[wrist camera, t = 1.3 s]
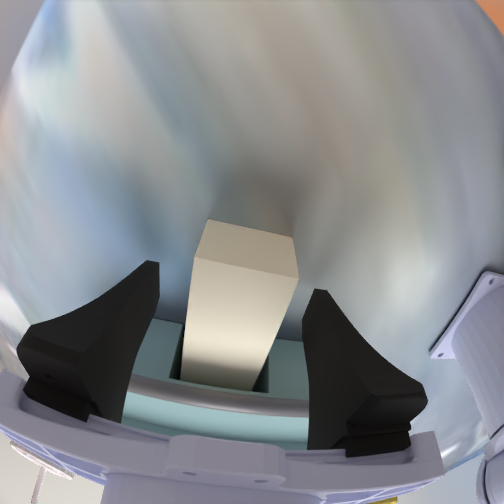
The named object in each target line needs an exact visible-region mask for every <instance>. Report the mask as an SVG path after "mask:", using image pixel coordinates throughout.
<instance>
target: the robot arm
mask: <svg viewBox="0 0 504 504" xmlns="http://www.w3.org/2000/svg"><path fill="white" fill-rule="evenodd" d="M159 297H160V291H159V262H154V261H148V260H147V261H145V262H144V263H143V264H141V265H140V266H139V267H138V268H137V269H135V270H134V271H133V272H132V273H131V274H129V275H128V276H127V277H126V278H124V279H123V280H122V281H121V282H119V283H118V284H117V285H115V286H114V287H113V288H111V289H110V290H109V291H107V292H106V293H104V294H103V295H101V296H100V297H98V298H97V299H95V300H93V301H91V302H90V303H88V304H86V305H84V306H82V307H80V308H78V309H76V310H74V311H72V312H70V313H67V314H65V315H62V316H60V317H57V318H54V319H51V320H48V321H44V322H41V323H37V324H34V325H31V326H30V327H29V329H28V330H27V332H26V333H25V335H24V336H23V338H22V340H21V341H20V343H19V344H18V346H17V348H16V350H17V355H18V357H19V360H20V361H21V363H22V365H23V366H24V368H25V370H26V371H27V373H28V375H29V376H30V377H29V379H28V381H27V382H26V381H25V380H24V379H23V378H21V377H19V376H17V375H16V374H14V373H12V372H10V371H8V370H6V369H3V370H2V371H1V373H0V431H1V432H2V433H3V434H4V435H5V436H6V437H8V438H9V439H11V440H13V441H14V442H16V443H18V444H19V445H21V446H23V447H25V448H26V449H28V450H30V451H32V452H33V453H35V454H37V455H39V456H41V457H43V458H45V459H46V460H48V461H50V462H52V463H54V464H56V465H58V466H60V467H62V468H64V469H66V470H68V471H71V472H73V473H75V474H77V475H79V476H82V477H84V478H86V479H89V480H91V481H94V482H96V483H99V484H101V485H104V486H105V487H104V491H103V495H102V500H101V504H366V503H371V502H375V501H380V500H384V499H388V498H392V497H396V496H400V495H404V494H407V493H411V492H414V491H416V490H418V489H420V488H422V487H424V486H426V485H428V484H430V483H432V482H434V481H436V480H437V479H439V478H441V477H443V476H444V475H445V470H444V466H443V462H442V458H441V455H440V451H439V447H438V444H437V440H436V437H435V433H434V431H429V432H423V433H418V434H414V435H412V436H410V437H409V433H408V431H409V430H411V424H410V421H412V420H413V419H414V418H415V417H416V416H417V415H418V414H420V413H421V412H422V411H423V409H424V408H425V407H426V405H427V403H428V399H427V396H426V393H425V390H424V388H423V385H422V384H421V383H420V382H418V381H416V380H415V379H413V378H411V377H409V376H408V375H406V374H405V373H403V372H402V371H400V370H399V369H398V368H396V367H395V366H393V365H392V364H391V363H390V362H388V361H387V360H386V359H385V358H384V357H382V356H381V355H380V354H379V353H378V352H377V351H376V350H375V349H374V348H373V347H372V346H371V345H370V344H369V343H368V342H367V341H366V340H365V339H364V338H363V337H362V336H361V335H360V334H359V332H358V331H357V330H356V329H355V328H354V326H353V325H352V324H351V323H350V321H349V320H348V319H347V317H346V316H345V315H344V313H343V312H342V311H341V309H340V308H339V306H338V305H337V304H336V302H335V301H334V299H333V298H332V297H331V295H330V294H329V293H328V291H327V290H321V289H314V291H313V294H312V296H311V299H310V301H309V304H308V306H307V309H306V311H305V314H304V316H303V319H302V339H303V346H304V353H305V359H306V366H307V373H308V381H309V426H308V441H307V450H284V449H282V448H280V447H278V446H276V445H271V444H265V443H253V442H242V441H232V440H224V439H217V438H209V437H203V436H196V435H178V436H174V437H172V436H167V435H162V434H158V433H154V432H150V431H145V430H142V429H138V428H134V427H130V426H127V425H123V424H121V421H122V415H123V409H124V404H125V399H126V394H127V390H128V386H129V382H130V378H131V374H132V370H133V366H134V363H135V359H136V356H137V354H138V351H139V349H140V346H141V344H142V342H143V339H144V337H145V335H146V332H147V330H148V328H149V325H150V323H151V321H152V319H153V316H154V314H155V310H156V307H157V304H158V300H159ZM429 356H430V358H431V359H451V358H457V361H458V363H459V365H460V367H461V369H462V371H463V373H464V376H465V378H466V380H467V382H468V385H469V387H470V389H471V392H472V394H473V396H474V399H475V401H476V404H477V406H478V409H479V411H480V414H481V416H482V419H483V422H484V424H485V427H486V430H487V433H488V436H489V439H490V441H489V442H488V443H487V444H485V445H484V446H483V447H482V448H483V451H484V454H485V456H484V458H483V459H482V461H481V463H480V466H479V469H478V473H477V481H476V495H477V500H478V503H479V504H504V275H502V274H498V273H494V272H490V271H486V272H484V273H483V274H482V275H481V277H480V278H479V280H478V282H477V284H476V285H475V287H474V289H473V290H472V292H471V294H470V295H469V297H468V298H467V300H466V302H465V303H464V305H463V306H462V308H461V309H460V311H459V312H458V314H457V315H456V317H455V318H454V320H453V321H452V323H451V324H450V325H449V327H448V328H447V330H446V331H445V332H444V334H443V335H442V337H441V338H440V339H439V341H438V342H437V343H436V345H435V346H434V347H433V348H432V350H431V351H430V353H429Z"/></svg>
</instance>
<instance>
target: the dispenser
mask: <svg viewBox="0 0 504 504" xmlns="http://www.w3.org/2000/svg"><path fill="white" fill-rule="evenodd" d="M182 331H183V324H180V323H175V322H170V321H165V320H160V319H155V318H153V319H152V321H151V323H150V325H149V328H148V330H147V332H146V335H145V337H144V339H143V342H142V344H141V346H140V349H139V351H138V354H137V356H136V359H135V363H134V366H133V370H132V374H131V378H130V382H129V386H128V390H127V394H126V399H125V404H124V409H123V415H122V421H121V424H123V425H127V426H130V427H134V428H138V429H142V430H145V431H150V432H154V433H158V434H162V435H167V436H172V437H174V436H178V435H196V436H203V437H209V438H217V439H224V440H232V441H242V442H253V443H265V444H271V445H276V446H278V447H280V448H282V449H284V450H307V441H308V426H309V381H308V373H307V366H306V359H305V353H304V346H303V342H300V341H291V340H282V339H274V342H273V344H272V346H271V348H270V351H269V353H268V355H267V357H266V360H265V362H264V364H263V366H262V369H261V371H260V373H259V375H258V377H257V380H256V382H255V384H254V386H253V388H252V390H251V392H250V391H241V390H234V389H227V388H220V387H213V386H207V385H201V384H195V383H190V382H185V381H180V377H181V366H182Z"/></svg>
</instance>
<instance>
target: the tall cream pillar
mask: <svg viewBox="0 0 504 504" xmlns="http://www.w3.org/2000/svg"><path fill="white" fill-rule="evenodd" d="M299 279H300V278H299V272H298V266H297V260H296V254H295V249H294V243H293V237H288V236H284V235H279V234H275V233H270V232H266V231H261V230H256V229H252V228H247V227H243V226H238V225H233V224H229V223H224V222H219V221H214V220H210V219H208V220H207V223H206V226H205V228H204V231H203V234H202V237H201V239H200V242H199V245H198V248H197V251H196V253H195V256H194V262H193V269H192V277H191V284H190V292H189V300H188V308H187V317H186V326H185V335H184V345H183V355H182V366H181V377H180V381H185V382H190V383H195V384H201V385H207V386H213V387H220V388H227V389H234V390H241V391H250V392H251V390H252V388H253V386H254V384H255V382H256V380H257V377H258V375H259V373H260V371H261V369H262V366H263V364H264V362H265V360H266V357H267V355H268V353H269V351H270V348H271V346H272V344H273V342H274V339H275V337H276V335H277V332H278V330H279V328H280V325H281V323H282V321H283V318H284V316H285V313H286V311H287V309H288V306H289V304H290V301H291V299H292V296H293V294H294V292H295V289H296V287H297V284H298V282H299Z"/></svg>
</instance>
